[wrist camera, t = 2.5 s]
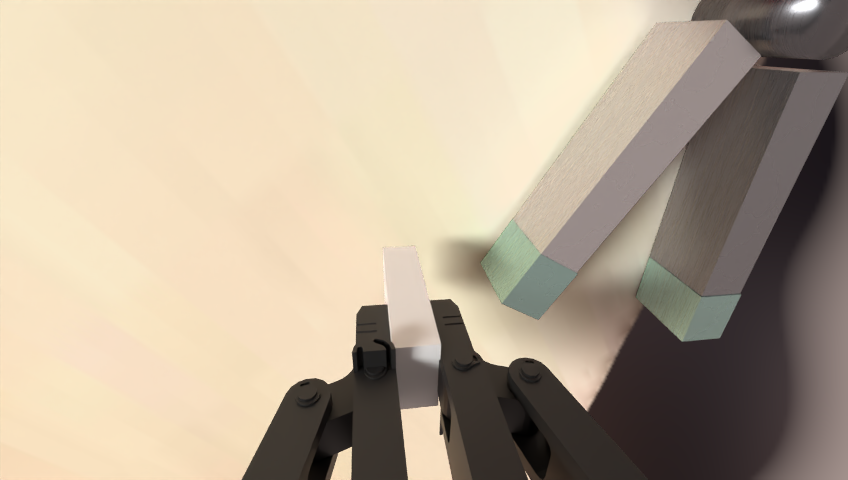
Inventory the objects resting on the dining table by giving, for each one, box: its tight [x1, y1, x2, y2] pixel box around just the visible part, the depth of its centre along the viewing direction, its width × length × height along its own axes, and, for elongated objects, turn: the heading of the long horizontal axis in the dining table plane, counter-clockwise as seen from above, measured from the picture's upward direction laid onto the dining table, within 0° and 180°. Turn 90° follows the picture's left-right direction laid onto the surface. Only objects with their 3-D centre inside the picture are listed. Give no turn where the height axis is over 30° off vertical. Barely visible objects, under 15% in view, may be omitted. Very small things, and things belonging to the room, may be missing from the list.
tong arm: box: [480, 20, 761, 320], centre depth 19 cm, size 15×2×4 cm, turn 149°
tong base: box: [636, 0, 848, 342], centre depth 20 cm, size 18×5×6 cm, turn 179°
